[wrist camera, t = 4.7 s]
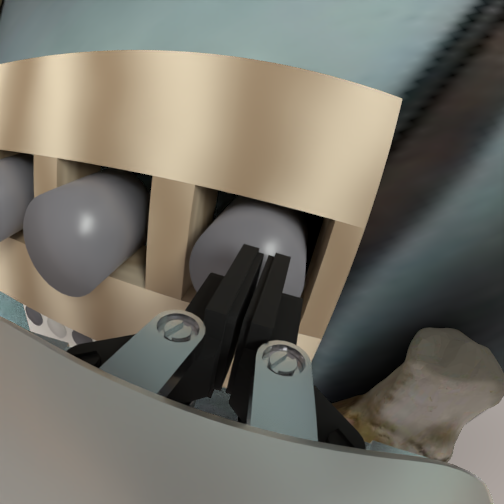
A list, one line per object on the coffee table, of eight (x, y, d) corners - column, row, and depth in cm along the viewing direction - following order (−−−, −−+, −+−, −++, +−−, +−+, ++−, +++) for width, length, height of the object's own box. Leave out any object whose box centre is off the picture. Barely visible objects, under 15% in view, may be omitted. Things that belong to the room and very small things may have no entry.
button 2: (318, 202, 16) (319, 237, 11) (295, 280, 18) (287, 335, 13) (229, 179, 16) (196, 206, 12) (215, 258, 18) (184, 305, 14)
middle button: (159, 176, 14) (100, 205, 10) (152, 261, 16) (103, 311, 12) (85, 161, 15) (19, 184, 10) (84, 239, 17) (30, 278, 12)
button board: (380, 102, 13) (402, 98, 9) (296, 358, 20) (290, 404, 16) (23, 67, 15) (-19, 68, 11) (24, 264, 22) (-7, 286, 18)
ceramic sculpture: (558, 421, 9) (397, 519, 16) (514, 326, 16) (396, 437, 24) (446, 393, 9) (278, 504, 16) (407, 269, 16) (295, 410, 24)
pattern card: (96, 317, 22) (92, 321, 22) (103, 364, 25) (100, 369, 24) (21, 282, 23) (17, 285, 22) (32, 328, 25) (29, 332, 25)
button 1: (49, 155, 15) (-14, 176, 11) (51, 228, 17) (-3, 261, 13) (7, 149, 15) (-49, 167, 11) (9, 214, 17) (-40, 240, 13)
